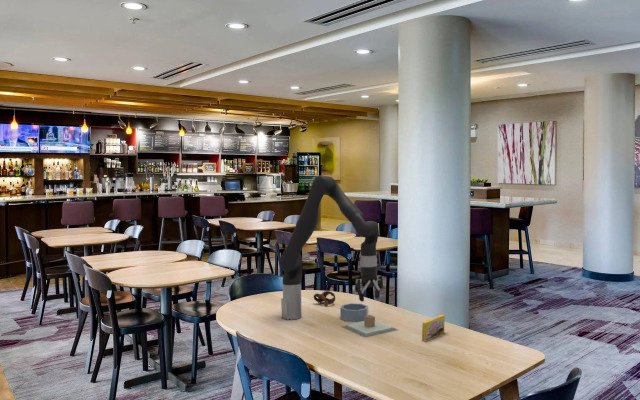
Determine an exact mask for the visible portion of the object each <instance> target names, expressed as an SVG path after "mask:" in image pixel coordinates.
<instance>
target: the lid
mask: <svg viewBox="0 0 640 400" xmlns="http://www.w3.org/2000/svg"><path fill="white" fill-rule="evenodd" d="M346 326H347V327H348V328H350V329H353V330H355V331H357V332H359V333H362V334H364V335H370V334H375V333H379V332H384V331H388V330H393V328H394V327H393V326H390V325H388V324H385V323H382V322H380V321H378V320H376V317H375V316H373V315H371V314H368V316H364V321H359V322H354V323H350V324H349V323H348V324H347V325H346Z"/></svg>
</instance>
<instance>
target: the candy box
mask: <svg viewBox="0 0 640 400" xmlns="http://www.w3.org/2000/svg"><path fill="white" fill-rule="evenodd" d="M445 318H446V315H445V314H442V313H441V314H439V315H437V316H434V317H432V318H429V319H427V320H425V321H422V324H421V325H422V329H421V331H422V332H421V342H424V341H425V342H427V340H428V341H430V340H431V338H432V339H433V337H434V338H436V337H438V336H440V335H442V334H444V333H445V322H446V321H445V320H446V319H445ZM439 334H440V335H439ZM437 335H438V336H437ZM435 336H436V337H435ZM429 339H430V340H429Z"/></svg>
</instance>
